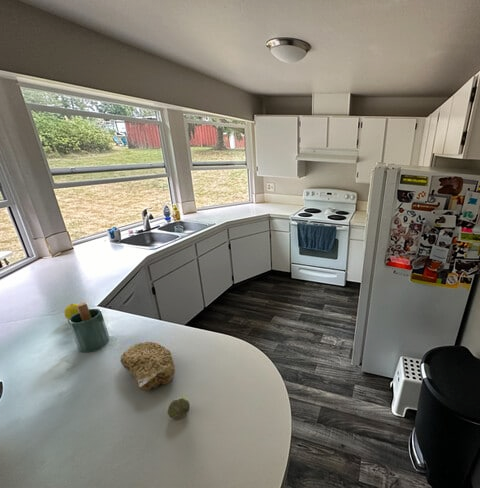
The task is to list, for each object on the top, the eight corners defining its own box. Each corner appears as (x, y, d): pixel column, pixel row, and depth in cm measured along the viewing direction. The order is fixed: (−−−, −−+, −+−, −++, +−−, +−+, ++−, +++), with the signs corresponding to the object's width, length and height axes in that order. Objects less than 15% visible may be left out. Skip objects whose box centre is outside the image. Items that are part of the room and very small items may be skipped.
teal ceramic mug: (74, 355, 84) (63, 326, 80) (83, 339, 91) (73, 312, 87) (106, 347, 88) (96, 319, 84) (112, 333, 95) (103, 306, 91)
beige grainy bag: (182, 380, 78) (167, 336, 91) (173, 367, 74) (159, 322, 86) (132, 409, 71) (124, 357, 84) (120, 397, 67) (113, 344, 79)
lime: (193, 409, 68) (190, 396, 67) (177, 425, 64) (173, 412, 63) (182, 402, 70) (179, 389, 68) (165, 418, 66) (162, 404, 64)
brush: (85, 347, 87) (71, 308, 82) (89, 340, 90) (76, 302, 85) (100, 344, 89) (87, 306, 83) (103, 337, 92) (91, 300, 87)
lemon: (64, 324, 99) (57, 307, 96) (79, 315, 104) (73, 299, 101) (75, 326, 98) (69, 308, 95) (90, 317, 103) (84, 301, 101)
